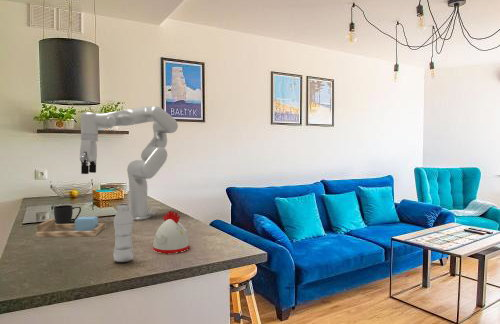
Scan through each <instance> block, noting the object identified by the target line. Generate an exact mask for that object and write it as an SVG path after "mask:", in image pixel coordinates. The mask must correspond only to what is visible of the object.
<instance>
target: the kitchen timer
mask: <svg viewBox="0 0 500 324" xmlns="http://www.w3.org/2000/svg"><path fill="white" fill-rule="evenodd" d="M180 218H181V216H180V215H178V211H177V212H176V211H172V210H169V211H168V212H166V213H165V215H163V220H164V221H163V222H162V223H161V225H160V226H159V227H158V229H157V230H156V233H155V235H154V240H153V242H152V243H153V244H152V249H153V250H155V251H157V252H161V253H176V252H181V251H184V250H187V249H188V248H189V249H190V240H189V237H188V230H187V229H186V228H185V227H184V226H183V224H182V223H181V222H179V220H180ZM189 249H188V250H189ZM188 250H187V251H188Z"/></svg>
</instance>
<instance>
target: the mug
mask: <svg viewBox="0 0 500 324" xmlns="http://www.w3.org/2000/svg"><path fill="white" fill-rule="evenodd" d="M74 209H79V210H78V213H77V215H76V216H75V218H74V219H73V212H74V211H73V210H74ZM81 212H82V208H81V206H75V207H73V205H68V204H67V205H66V204H65V205H56V206H54V207H53V215H54V218H55V224H75V220H76V219H77V218H79V217H80V214H81ZM72 219H73V220H72Z"/></svg>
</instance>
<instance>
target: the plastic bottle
mask: <svg viewBox="0 0 500 324" xmlns="http://www.w3.org/2000/svg"><path fill="white" fill-rule="evenodd" d="M116 207H117V209H116V211H117V212H116V214H115V216H114V217H113V221H112V222H113V228H114V239H115V240H114V249H113V254H112V255H113V260H114V262H116V263H126V262H130V261H132V259H133V258H134V248H133V242H132V241H133V239H132V238H133V236H132V234H133V225H134V220H133V217H132V215H131V214H130V213H129V203H119V204H117V205H116Z"/></svg>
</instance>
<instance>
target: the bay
mask: <svg viewBox="0 0 500 324" xmlns="http://www.w3.org/2000/svg"><path fill="white" fill-rule="evenodd" d="M106 228H107V223H106V222H100V223H99V222H98V226H97V227H95V228H94V229H93V230H92V231H75V223H70V224H56V221H55V217H54V218H53V217H52V218H49V219H47V220H45V221H42V222H41V223H39V224H37V231H36V232H35V237H36V238H61V237H63V238H64V237H66V238H69V237H72V238H73V237H76V238H77V237H96V236H97V235H99V234H100V233H102V231H104V230H105V229H106ZM59 229H60V231H54V230H59ZM61 229H62V230H65V231H62V230H61ZM68 229H69V230H68ZM72 229H74V230H72ZM66 230H67V231H66ZM71 230H72V231H71Z"/></svg>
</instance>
